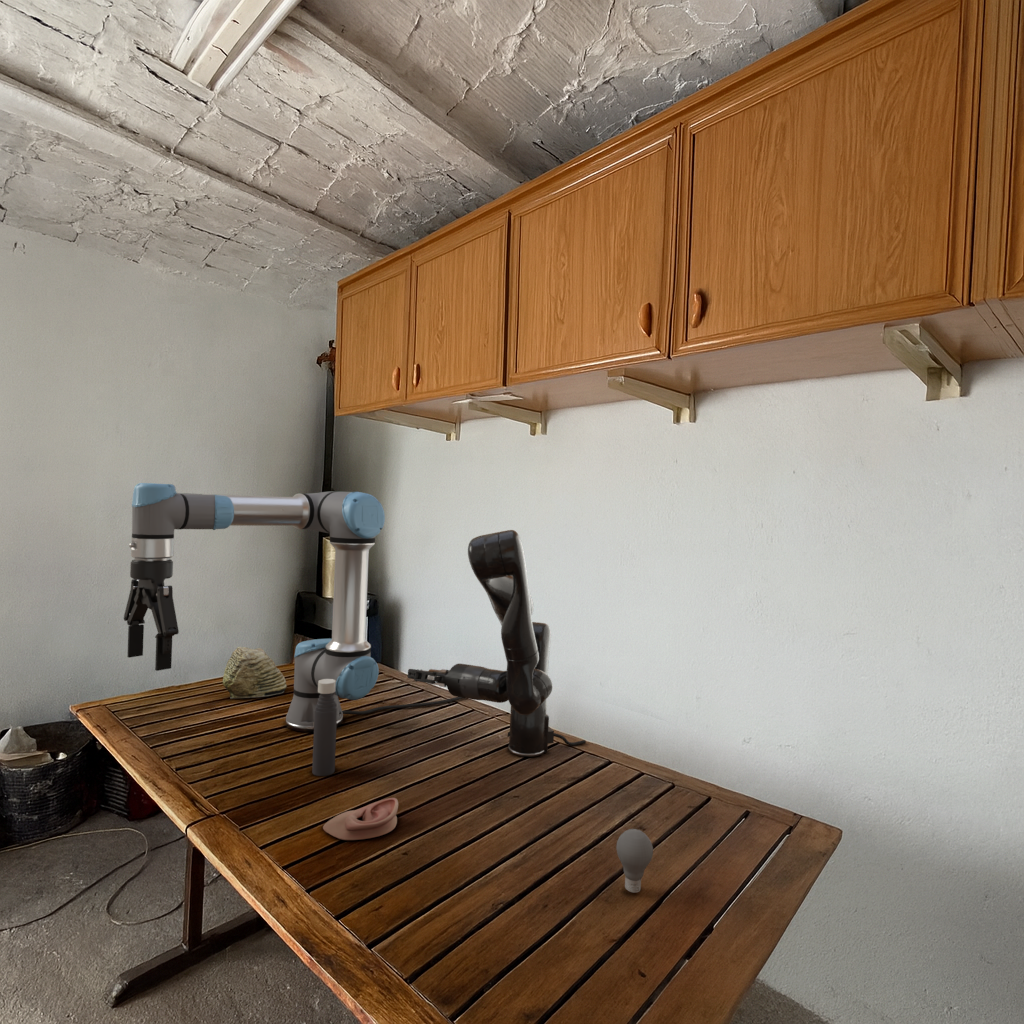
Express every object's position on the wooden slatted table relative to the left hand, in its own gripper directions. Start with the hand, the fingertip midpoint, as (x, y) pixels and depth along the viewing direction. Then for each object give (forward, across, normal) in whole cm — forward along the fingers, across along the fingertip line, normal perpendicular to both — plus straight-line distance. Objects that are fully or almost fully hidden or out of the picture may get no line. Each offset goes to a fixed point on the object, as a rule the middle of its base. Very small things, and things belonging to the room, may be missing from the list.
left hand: (148, 662), depth 129 cm
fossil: (+28, -47, +50) cm, 74 cm away
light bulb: (+28, +90, +41) cm, 103 cm away
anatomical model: (+28, +41, +23) cm, 55 cm away
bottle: (+28, +15, +33) cm, 45 cm away
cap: (+7, +15, +33) cm, 37 cm away
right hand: (+7, +24, +53) cm, 59 cm away
